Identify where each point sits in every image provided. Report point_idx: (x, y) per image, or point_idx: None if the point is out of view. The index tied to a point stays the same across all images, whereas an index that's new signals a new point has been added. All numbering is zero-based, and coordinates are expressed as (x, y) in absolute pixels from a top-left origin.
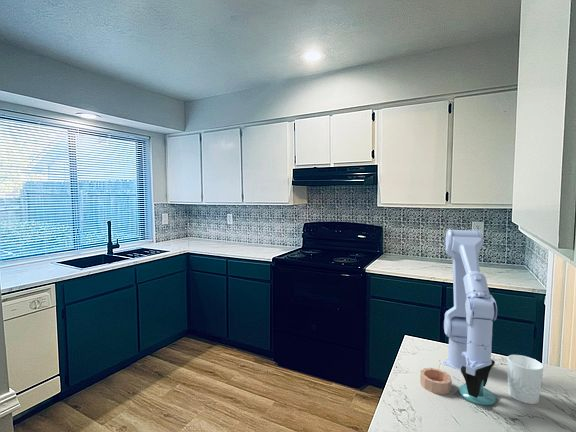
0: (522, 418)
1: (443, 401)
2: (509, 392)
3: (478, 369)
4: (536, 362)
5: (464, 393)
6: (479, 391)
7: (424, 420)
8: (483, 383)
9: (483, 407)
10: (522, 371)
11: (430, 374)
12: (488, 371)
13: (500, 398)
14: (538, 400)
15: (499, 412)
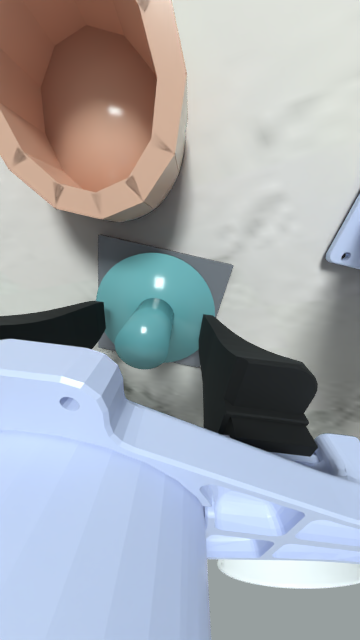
0: (140, 398)
1: (33, 211)
2: None
3: (211, 358)
4: (326, 571)
5: (116, 280)
6: (90, 347)
7: None
8: (199, 342)
9: (104, 334)
10: None
11: (139, 37)
12: (204, 402)
13: (190, 365)
14: None
15: (125, 363)
